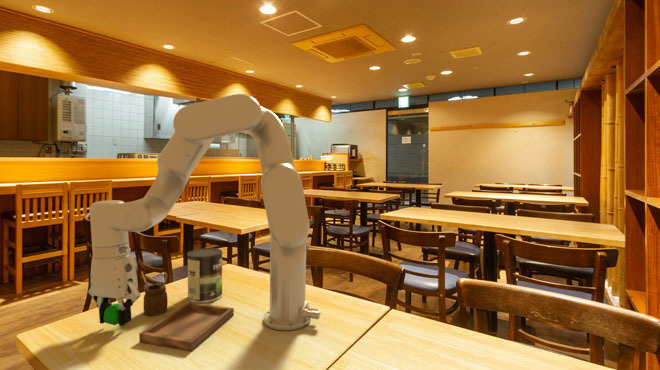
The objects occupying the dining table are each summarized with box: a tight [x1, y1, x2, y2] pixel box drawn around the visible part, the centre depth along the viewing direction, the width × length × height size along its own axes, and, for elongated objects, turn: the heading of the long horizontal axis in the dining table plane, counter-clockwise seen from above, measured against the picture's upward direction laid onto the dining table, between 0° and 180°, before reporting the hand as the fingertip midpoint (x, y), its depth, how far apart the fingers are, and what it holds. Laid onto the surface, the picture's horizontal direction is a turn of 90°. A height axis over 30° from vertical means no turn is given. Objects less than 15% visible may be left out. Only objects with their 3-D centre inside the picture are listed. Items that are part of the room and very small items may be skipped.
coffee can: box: [186, 247, 223, 304], centre depth 104 cm, size 10×10×14 cm
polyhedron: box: [103, 303, 120, 326], centre depth 83 cm, size 5×5×5 cm
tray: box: [138, 301, 235, 352], centre depth 85 cm, size 14×18×2 cm
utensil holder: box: [141, 271, 169, 317], centre depth 93 cm, size 6×6×12 cm
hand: (115, 321), depth 83 cm, fingers closed on polyhedron, 5 cm apart
